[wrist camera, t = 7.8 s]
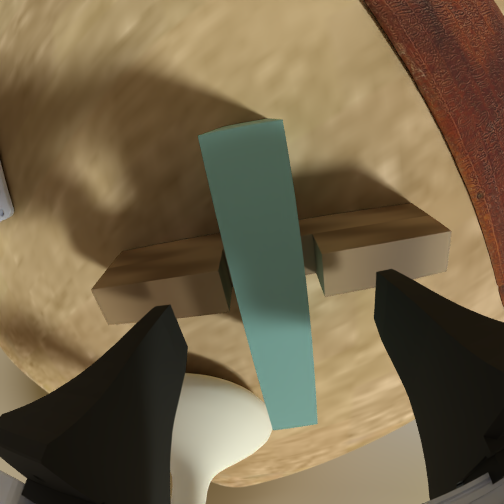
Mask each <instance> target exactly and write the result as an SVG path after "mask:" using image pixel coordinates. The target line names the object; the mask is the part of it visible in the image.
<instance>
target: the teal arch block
mask: <svg viewBox="0 0 504 504" xmlns="http://www.w3.org/2000/svg"><path fill="white" fill-rule="evenodd" d="M198 139H199V143H200V148H201V152H202V157H203V161H204V166H205V170H206V175H207V179H208V183H209V188H210V192H211V196H212V200H213V205H214V209H215V213H216V217H217V221H218V226H219V230H220V234H221V238H222V242H223V246H224V250H225V254H226V258H227V262H228V266H229V270H230V274H231V278H232V282H233V286H234V290H235V294H236V298H237V302H238V305H239V309H240V313H241V317H242V321H243V324H244V328H245V332H246V336H247V340H248V343H249V347H250V351H251V354H252V358H253V362H254V365H255V369H256V373H257V376H258V380H259V383H260V387H261V390H262V394H263V398H264V401H265V405H266V408H267V412H268V415H269V419H270V422H271V425H272V429H273V430H279V429H287V428H294V427H301V426H308V425H314V424H317V405H316V389H315V374H314V361H313V348H312V337H311V326H310V315H309V305H308V295H307V286H306V277H305V268H304V260H303V252H302V244H301V236H300V228H299V221H298V214H297V207H296V200H295V193H294V186H293V180H292V173H291V167H290V161H289V154H288V148H287V143H286V137H285V131H284V125H283V120H281V119H262V120H256V121H250V122H245V123H239V124H234V125H229V126H224V127H221V128H218V129H215V130H213V131H210V132H207V133H204V134H201V135H198Z"/></svg>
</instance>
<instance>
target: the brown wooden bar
mask: <svg viewBox="0 0 504 504" xmlns="http://www.w3.org/2000/svg"><path fill="white" fill-rule="evenodd" d="M298 221H299V228H300V236H301V244H302V252H303V260H304V268H305V275H308V274H314V273H316V274H317V276H318V279H319V282H320V284H321V287H322V290H323V293H324V296H325V297H328V296H333V295H339V294H344V293H349V292H354V291H359V290H364V289H369V288H374V287H376V272H378V271H383V270H388V269H394V270H396V271H398V272H400V273H402V274H403V275H405V276H407V277H409V278H411V279H416V278H420V277H425V276H429V275H433V274H437V273H442V272H446V271H447V266H448V259H449V250H450V241H451V230H449V229H448V228H447V227H445V226H444V225H442V224H441V223H440V222H438V221H437V220H435V219H434V218H433V217H431V216H430V215H428V214H427V213H425V212H424V211H422V210H421V209H419V208H418V207H417V206H415V205H414V204H412V203H409V204H401V205H394V206H387V207H380V208H373V209H366V210H359V211H352V212H346V213H339V214H333V215H326V216H320V217H313V218H307V219H301V220H298ZM232 287H233V282H232V278H231V274H230V270H229V266H228V262H227V258H226V254H225V250H224V246H223V242H222V238H221V234H220V233H217V234H212V235H206V236H200V237H195V238H189V239H184V240H179V241H173V242H168V243H162V244H157V245H152V246H147V247H141V248H136V249H131V250H126V251H122V252H121V253H120V254H119V256H118V257H117V258H116V259H115V260H114V262H113V263H112V264H111V265H110V266H109V268H108V269H107V270H106V271H105V273H104V274H103V275H102V276H101V278H100V279H99V280H98V281H97V283H96V284H95V285H94V287H93V288H92V289H91V290H92V293H93V295H94V297H95V299H96V301H97V303H98V305H99V307H100V309H101V311H102V313H103V315H104V317H105V319H106V321H107V323H108V325H111V324H124V323H135V322H138V321H139V320H141V319H142V318H143V317H144V316H145V315H146V314H147V313H148V312H149V311H150V310H151V309H152V308H154V307H155V306H161V305H170V304H171V307H172V309H173V312H174V314H175V317H176V318H185V317H193V316H202V315H210V314H218V313H225V312H230V302H231V293H232Z"/></svg>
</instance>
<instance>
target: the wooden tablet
mask: <svg viewBox="0 0 504 504" xmlns="http://www.w3.org/2000/svg"><path fill="white" fill-rule="evenodd" d="M365 2H366V4H367V6H368V7H369V8H370V10H371V11H372V13H373V14H374V15H375V17H376V18H377V20H378V22H379V24H380V25H381V26H382V28H383V30H384V31H385V33H386V34H387V36H388V37H389V39H390V41H391V42H392V44H393V45H394V47H395V49H396V51H397V52H398V54H399V55H400V57H401V58H402V60H403V61H404V63H405V65H406V66H407V68H408V69H409V71H410V73H411V75H412V77H413V78H414V80H415V82H416V84H417V86H418V88H419V90H420V92H421V93H422V95H423V97H424V98H425V100H426V102H427V104H428V106H429V108H430V110H431V112H432V114H433V116H434V118H435V119H436V121H437V124H438V125H439V127H440V129H441V131H442V133H443V135H444V137H445V139H446V141H447V143H448V146H449V148H450V150H451V152H452V155H453V157H454V159H455V161H456V164H457V166H458V168H459V171H460V173H461V175H462V178H463V180H464V182H465V184H466V187H467V189H468V191H469V194H470V197H471V199H472V202H473V205H474V207H475V210H476V214H477V216H478V220H479V223H480V225H481V228H482V231H483V235H484V238H485V241H486V245H487V248H488V251H489V254H490V258H491V262H492V266H493V269H494V273H495V277H496V281H497V285H498V286H499V292H500V296H501V300H502V303H503V306H504V16H503V14H502V13H501V11H500V9H499V8H498V6H497V5H496V3H495V2H494V0H365Z"/></svg>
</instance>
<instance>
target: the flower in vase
mask: <svg viewBox="0 0 504 504" xmlns="http://www.w3.org/2000/svg"><path fill="white" fill-rule="evenodd" d="M271 431H272V425H271V422H270V419H269V415H268V412H267V408H266V405H265V403H264V402H263V401H262V400H261V399H260V398H259V397H257V396H256V395H255V394H254V393H252V392H251V391H249V390H248V389H246V388H244V387H242V386H240V385H237V384H235V383H233V382H230V381H227V380H224V379H221V378H217V377H213V376H207V375H201V374H192V373H185V376H184V380H183V385H182V389H181V394H180V398H179V402H178V407H177V411H176V415H175V420H174V426H173V432H172V443H171V458H170V471H171V474H172V479H173V489H172V499H171V504H205V503H206V496H207V490H208V487H209V484H210V482H211V480H212V479H213V477H214V476H215V475H217V474H218V473H219V472H221V471H222V470H224V469H226V468H228V467H230V466H232V465H233V464H235V463H237V462H239V461H241V460H243V459H244V458H246V457H248V456H250V455H251V454H253V453H254V452H255V451H256V450H258V449H259V448H260V447H261V446H262V445H264V444H265V442H266V441H267V440H268V438H269V436H270V434H271Z"/></svg>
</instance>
